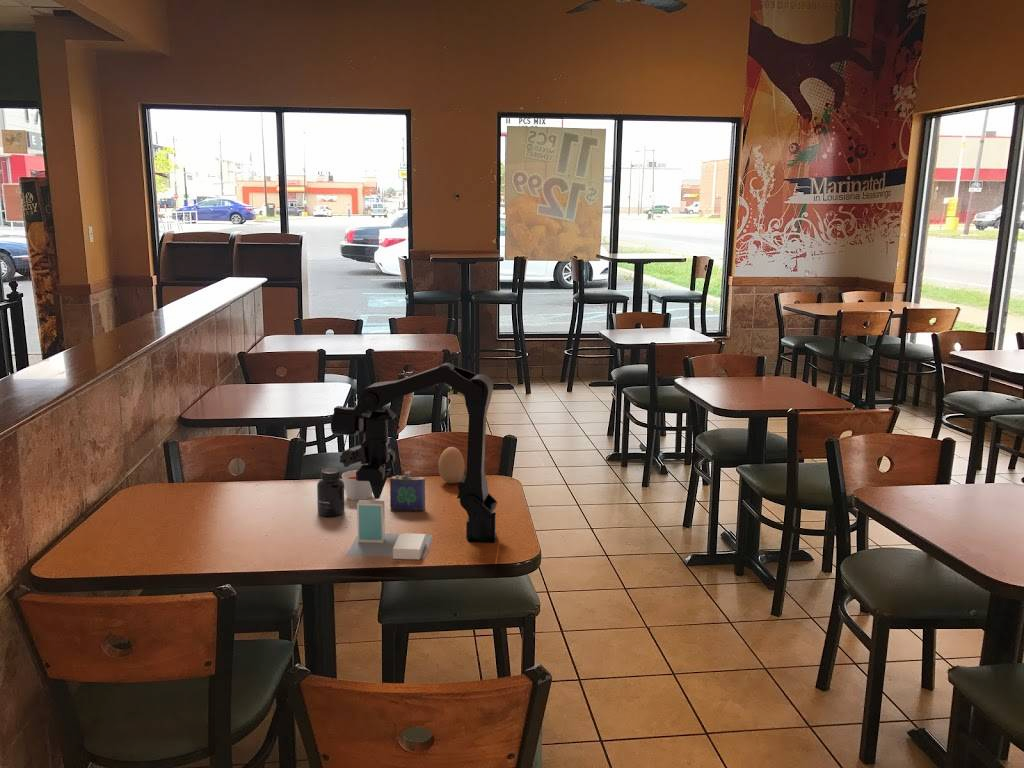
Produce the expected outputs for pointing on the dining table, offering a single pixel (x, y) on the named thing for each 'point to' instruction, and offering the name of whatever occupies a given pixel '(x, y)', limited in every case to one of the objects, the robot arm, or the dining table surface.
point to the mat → (381, 547)
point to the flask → (407, 493)
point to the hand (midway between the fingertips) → (377, 498)
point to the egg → (451, 465)
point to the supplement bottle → (330, 494)
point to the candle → (356, 487)
